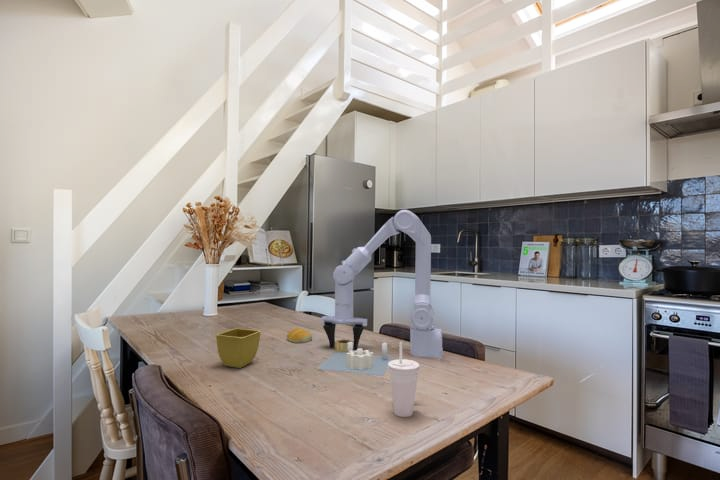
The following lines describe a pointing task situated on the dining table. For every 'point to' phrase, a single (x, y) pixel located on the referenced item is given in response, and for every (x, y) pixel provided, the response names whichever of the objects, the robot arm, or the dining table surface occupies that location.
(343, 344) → the brass gear
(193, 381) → the dining table surface
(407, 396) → the smoothie
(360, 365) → the gear
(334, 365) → the gear board
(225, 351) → the flower pot
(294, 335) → the bread roll
